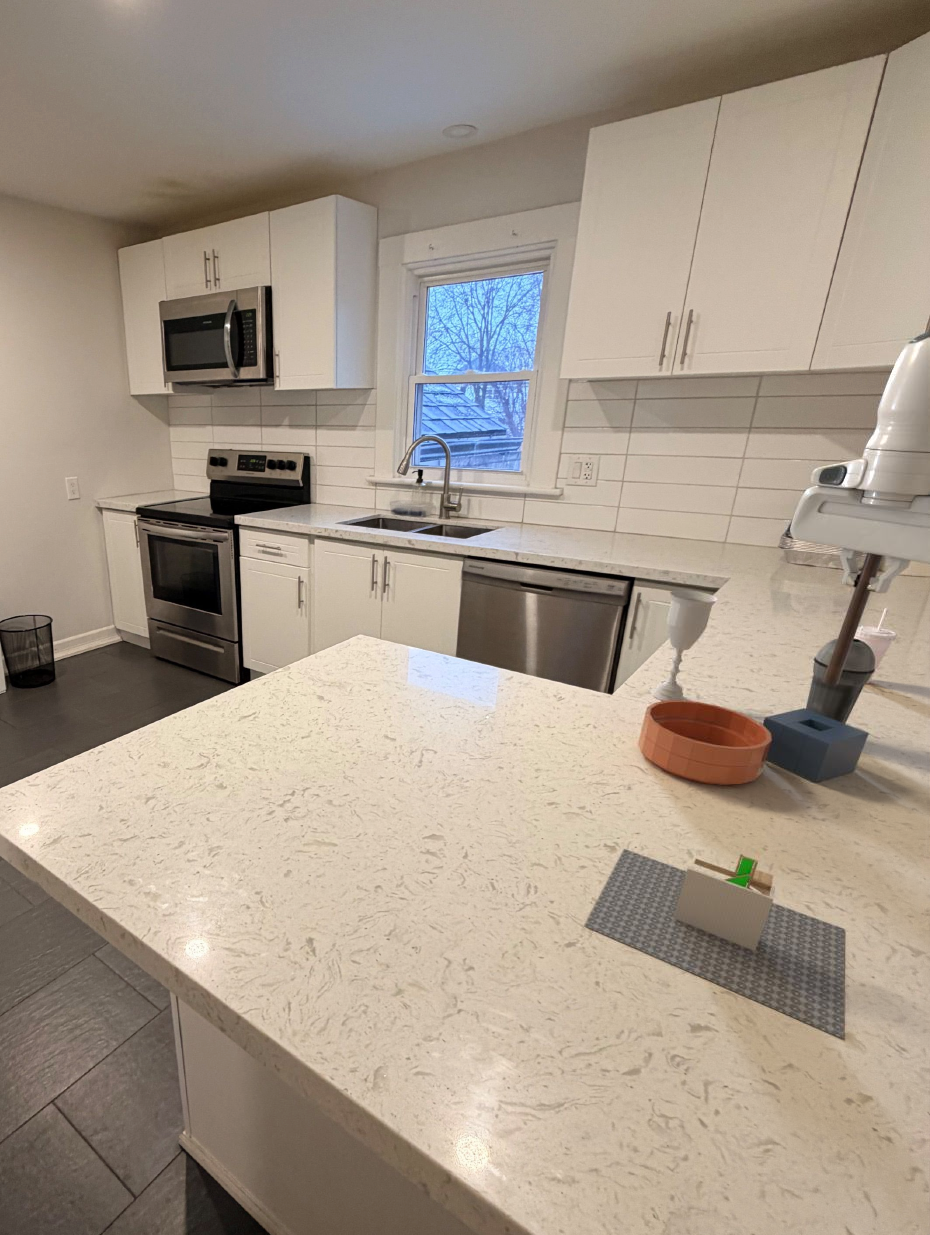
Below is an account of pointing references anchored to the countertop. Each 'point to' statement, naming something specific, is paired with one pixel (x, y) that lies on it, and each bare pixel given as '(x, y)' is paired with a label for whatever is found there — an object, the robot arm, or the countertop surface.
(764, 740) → the bowl
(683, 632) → the chalice
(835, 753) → the holder
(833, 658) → the stick
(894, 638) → the smoothie
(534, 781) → the countertop surface
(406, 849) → the countertop surface
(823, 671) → the beverage cup
